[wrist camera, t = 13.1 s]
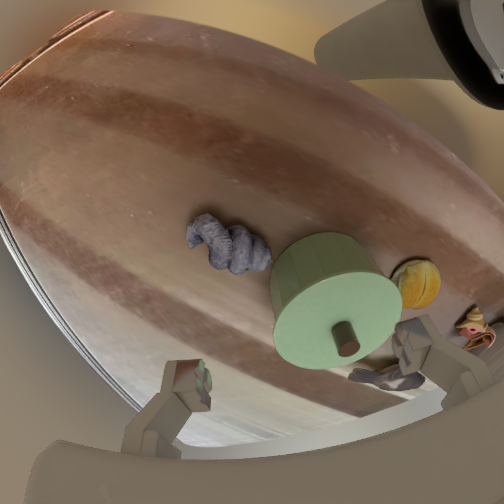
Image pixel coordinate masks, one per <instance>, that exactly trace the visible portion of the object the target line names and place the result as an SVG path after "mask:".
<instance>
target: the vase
mask: <svg viewBox="0 0 504 504" xmlns="http://www.w3.org/2000/svg"><path fill="white" fill-rule="evenodd" d="M490 327H491V328H492V329H493V330H494V331H495V333H496V337H495V341H494V342H493V344H492V345H491V347H490V348H488V347H487V344H486V343H485V344H483V345H481V346H479V347H477V348H473V349H470V350H468V352H469V353H471V354H473V355H475V356H476V357H478V358H480V359H482V360H483V361H485V363H486V364H487V366H488V368H489V370H490V372H491V373H492V375H493V377H494V379H495V381H496V383H497V382H498V381H500V380H502V379H503V378H504V324H503V323H500V322H499V323H496V324H494V325H492V326H490Z"/></svg>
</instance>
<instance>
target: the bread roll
mask: <svg viewBox="0 0 504 504" xmlns="http://www.w3.org/2000/svg"><path fill="white" fill-rule="evenodd" d="M391 281H392V282H394V284H395V285H396V287H397V288H398V290H399V292H400V294H401V298H402V309H406V308H409V307H410V308H412V309H420V308H423V307H426V306H427V305H428V304H430V303H431V302H432V301H433V300H434V298H435V297H436V295H437V293H438V292H439V289H440V284H441V279H440V274H439V271H438V269H437V268H436V266H435V265H434V264H433V263H432V262H430V261H428V260H412V261H409V262H406V263H405V264H403V265H401V266H400V267H399V268H398V269H397V270H396V271H395V273H394V275H393V277H392V278H391Z"/></svg>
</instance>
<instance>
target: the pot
mask: <svg viewBox="0 0 504 504" xmlns="http://www.w3.org/2000/svg"><path fill="white" fill-rule="evenodd" d="M357 269H362V270H370V271H375V272H378V273H380V274H383V272H382V271H381V269H380V268H379V266H378V265H377V264H376V262H375V261H374V259H373V258H372V257H371V255H370V254H369V252H368V251H367V250H366V248H365V247H364V246H362V245H361V244H360V243H359V242H358V241H357V240H355V239H354V238H352V237H350V236H348V235H345V234H342V233H336V232H323V233H317V234H313V235H310V236H307V237H304V238H302V239H300V240H298V241H297V242H295V243H294V244H292V245H291V246H289V247H288V248H287V249H286V250H285V251H284V252H283V253H282V254H281V255H280V257H279V258H278V259H277V261H276V262H275V264H274V266H273V269H272V271H271V275H270V281H269V287H270V293H271V299H272V306H273V312H274V318H275V320H276V318H277V316H278V313H279V312H280V310H281V309H282V307H283V306H284V305H285V304H286V302H287V301H288V300H289V299H290V298H291V297H292V296H293V295H294V294H295V293H297V292H298V291H299V290H301V289H302V288H303V287H305V286H307V285H308V284H310V283H311V282H313V281H315V280H317V279H319V278H322V277H324V276H327V275H330V274H333V273H336V272H340V271H346V270H357ZM383 275H384V274H383Z"/></svg>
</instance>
